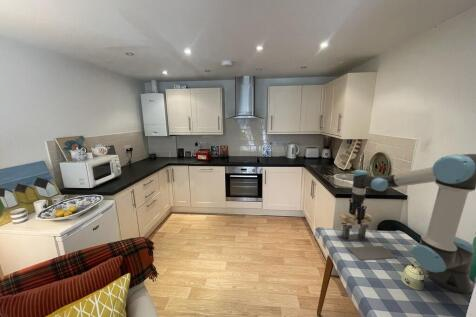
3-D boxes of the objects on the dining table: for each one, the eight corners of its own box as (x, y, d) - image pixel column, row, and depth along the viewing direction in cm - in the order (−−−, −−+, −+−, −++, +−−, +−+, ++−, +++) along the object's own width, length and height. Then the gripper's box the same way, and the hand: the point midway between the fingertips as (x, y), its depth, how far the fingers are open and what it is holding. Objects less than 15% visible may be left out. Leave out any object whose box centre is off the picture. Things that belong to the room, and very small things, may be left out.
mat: (382, 246, 124) (382, 245, 124) (398, 258, 114) (398, 257, 114) (347, 248, 122) (347, 247, 122) (360, 260, 111) (360, 259, 111)
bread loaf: (367, 219, 135) (367, 214, 134) (371, 222, 131) (372, 216, 130) (339, 220, 133) (340, 215, 132) (343, 223, 129) (344, 217, 128)
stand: (361, 234, 138) (363, 220, 136) (368, 239, 132) (370, 225, 130) (338, 235, 136) (340, 221, 135) (344, 241, 130) (346, 226, 128)
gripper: (345, 189, 137) (342, 220, 140) (362, 197, 120) (359, 233, 123) (354, 189, 138) (351, 220, 141) (374, 197, 121) (369, 232, 124)
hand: (355, 226), depth 132 cm, fingers closed on bread loaf, 4 cm apart
